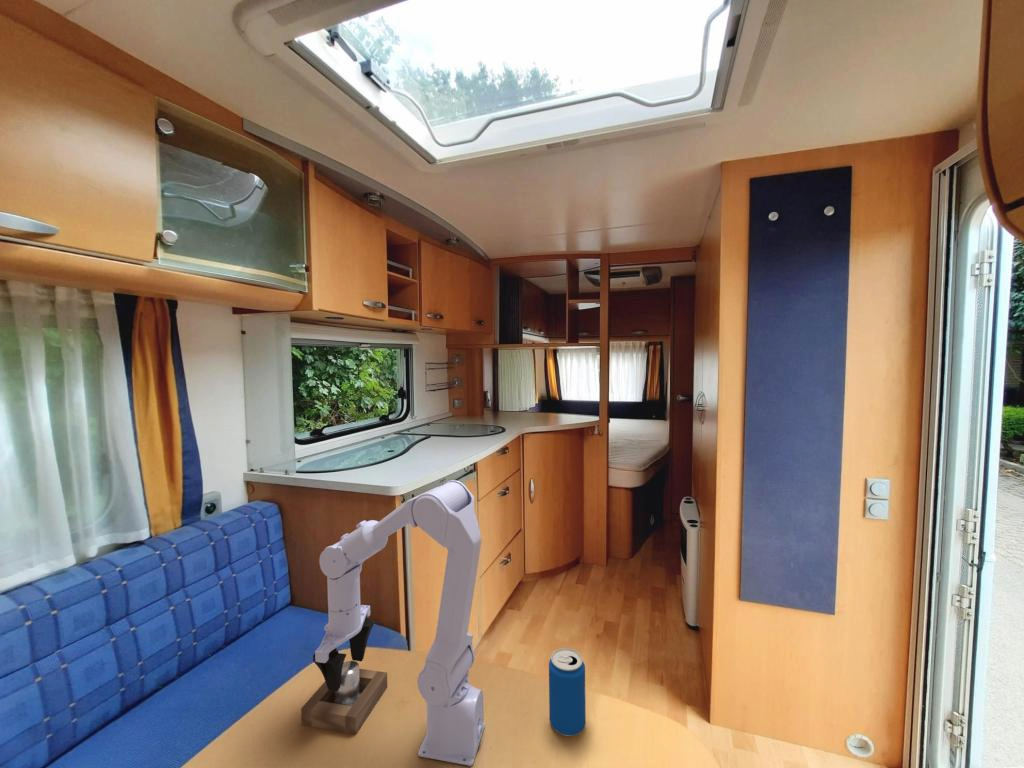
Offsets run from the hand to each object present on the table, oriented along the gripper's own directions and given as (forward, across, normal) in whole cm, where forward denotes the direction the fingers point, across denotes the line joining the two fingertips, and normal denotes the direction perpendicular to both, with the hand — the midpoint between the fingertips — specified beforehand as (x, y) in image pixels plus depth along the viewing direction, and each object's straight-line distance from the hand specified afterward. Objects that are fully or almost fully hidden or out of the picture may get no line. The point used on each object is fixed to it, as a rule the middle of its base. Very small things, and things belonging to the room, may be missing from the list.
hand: (346, 673), depth 77 cm
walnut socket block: (+6, 0, 0) cm, 6 cm away
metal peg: (+6, 0, 0) cm, 6 cm away
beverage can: (+7, -4, +42) cm, 43 cm away
